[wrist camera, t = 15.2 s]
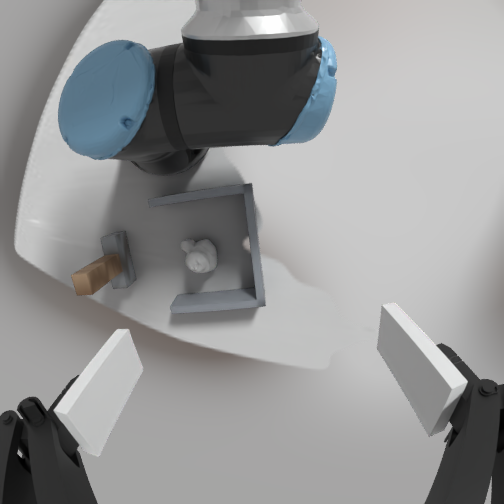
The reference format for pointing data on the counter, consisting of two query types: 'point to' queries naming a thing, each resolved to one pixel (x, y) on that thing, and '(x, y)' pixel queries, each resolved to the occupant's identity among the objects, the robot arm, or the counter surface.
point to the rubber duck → (200, 255)
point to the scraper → (107, 267)
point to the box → (257, 294)
